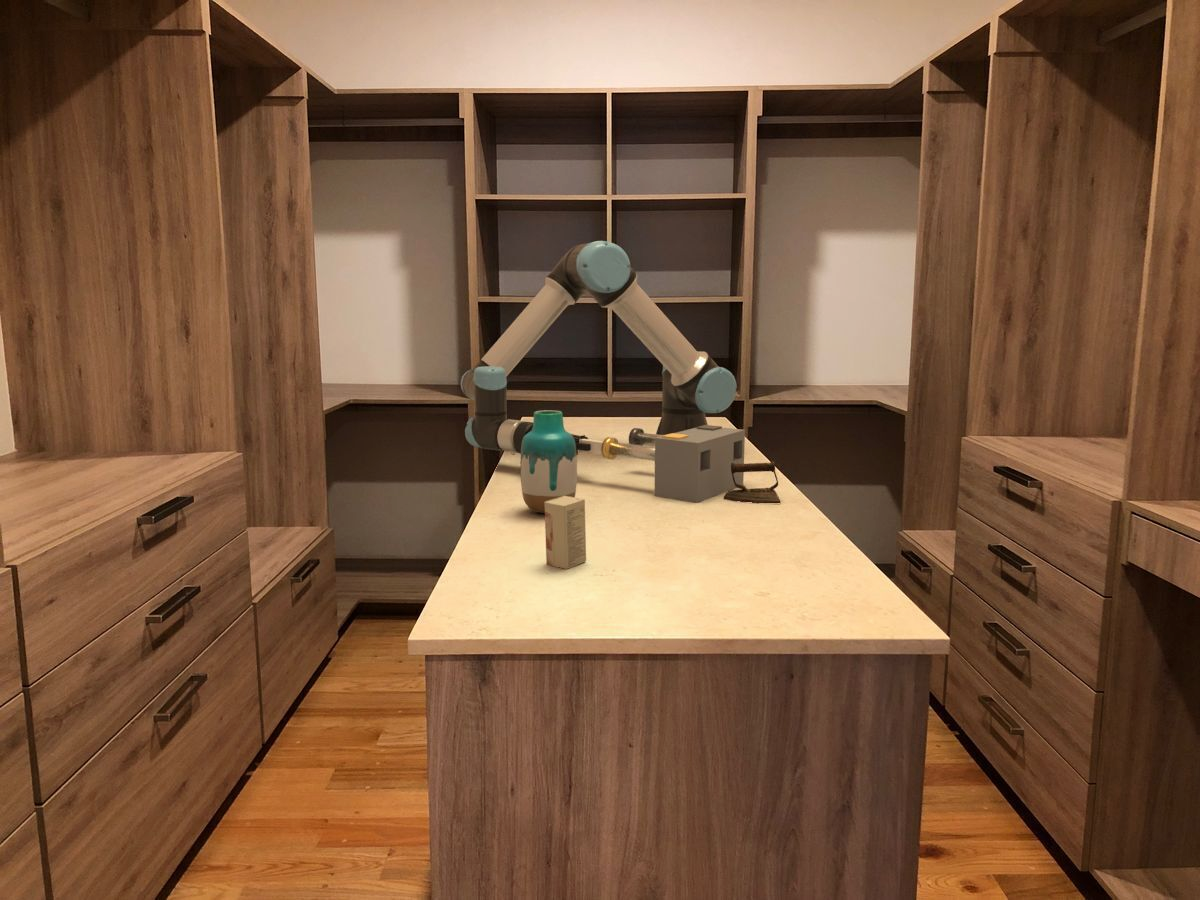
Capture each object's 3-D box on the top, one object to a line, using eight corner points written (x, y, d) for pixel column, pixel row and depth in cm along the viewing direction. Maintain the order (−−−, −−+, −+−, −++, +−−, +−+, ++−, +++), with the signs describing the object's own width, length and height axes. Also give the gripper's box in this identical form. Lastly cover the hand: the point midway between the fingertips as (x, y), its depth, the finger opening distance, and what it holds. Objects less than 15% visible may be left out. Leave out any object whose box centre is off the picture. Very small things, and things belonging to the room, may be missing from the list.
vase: (580, 505, 173) (579, 408, 169) (573, 519, 162) (572, 416, 159) (526, 504, 174) (525, 407, 170) (516, 518, 163) (514, 415, 160)
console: (702, 478, 197) (703, 423, 195) (743, 484, 191) (745, 428, 189) (654, 495, 181) (655, 436, 179) (697, 502, 175) (698, 441, 173)
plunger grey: (639, 446, 205) (639, 426, 204) (717, 456, 193) (718, 435, 192) (628, 449, 201) (628, 429, 200) (707, 459, 190) (707, 438, 189)
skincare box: (566, 556, 140) (565, 494, 139) (587, 561, 138) (587, 498, 136) (543, 564, 136) (543, 500, 135) (565, 570, 134) (564, 505, 132)
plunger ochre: (613, 456, 192) (613, 435, 192) (695, 468, 181) (695, 445, 180) (601, 460, 189) (601, 438, 188) (684, 471, 177) (684, 449, 176)
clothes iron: (784, 506, 174) (774, 459, 172) (728, 518, 176) (717, 472, 173) (780, 495, 181) (770, 449, 179) (725, 506, 183) (715, 461, 180)
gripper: (540, 449, 210) (622, 460, 196) (503, 457, 199) (587, 470, 185) (540, 418, 208) (622, 427, 194) (502, 424, 198) (586, 435, 184)
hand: (605, 448), depth 190 cm, fingers closed
